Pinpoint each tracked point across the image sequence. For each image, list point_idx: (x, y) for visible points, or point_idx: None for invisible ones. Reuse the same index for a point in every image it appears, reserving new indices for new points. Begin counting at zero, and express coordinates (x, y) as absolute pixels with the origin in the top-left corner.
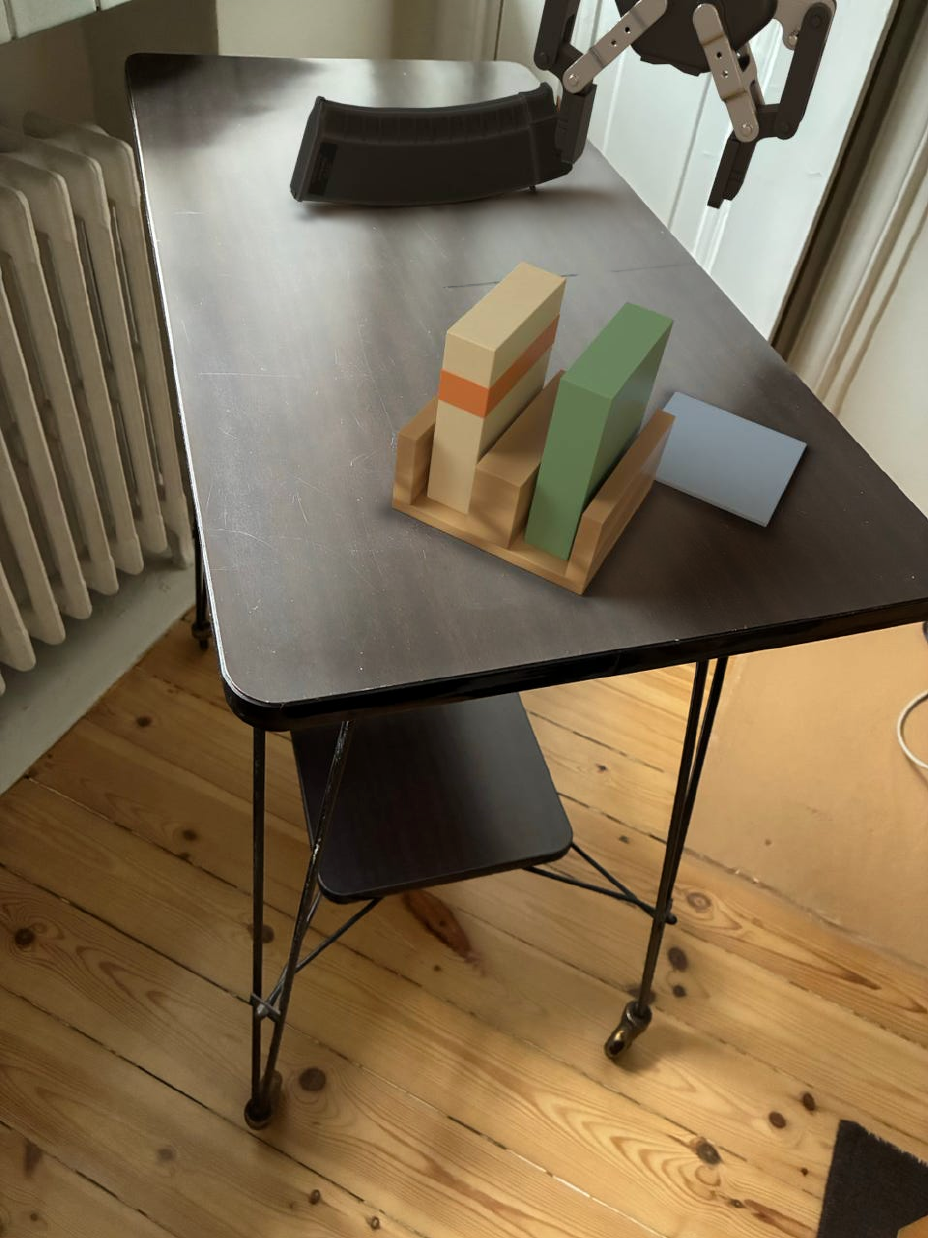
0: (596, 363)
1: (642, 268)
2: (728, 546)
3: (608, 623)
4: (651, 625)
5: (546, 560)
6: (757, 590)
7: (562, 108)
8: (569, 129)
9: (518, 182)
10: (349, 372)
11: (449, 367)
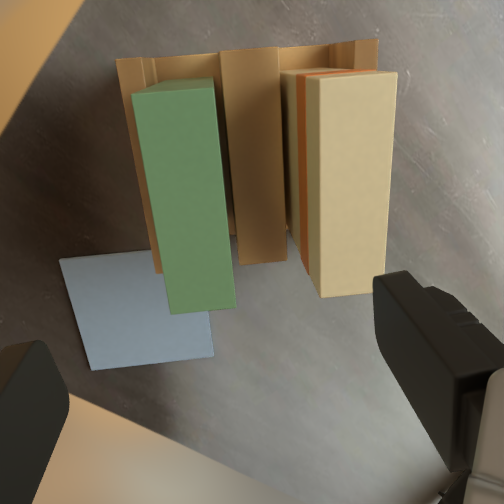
0: (193, 157)
1: (317, 469)
2: (70, 215)
3: (94, 43)
4: (62, 70)
5: (180, 67)
6: (18, 181)
7: (491, 341)
8: (431, 306)
9: (456, 489)
10: (470, 188)
11: (367, 71)
